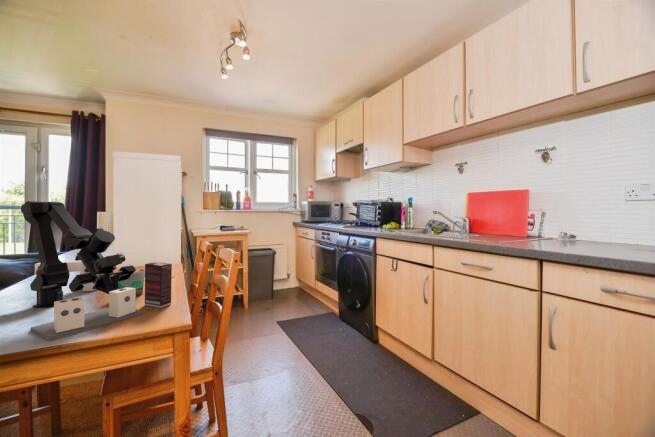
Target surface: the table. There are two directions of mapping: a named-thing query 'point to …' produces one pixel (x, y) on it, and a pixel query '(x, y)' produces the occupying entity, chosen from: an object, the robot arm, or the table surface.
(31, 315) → the table surface
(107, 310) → the key mat
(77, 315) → the white block grey domes
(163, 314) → the table surface
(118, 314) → the push button box
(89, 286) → the milk bottle
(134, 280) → the food container
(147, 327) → the table surface
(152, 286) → the supplement box
